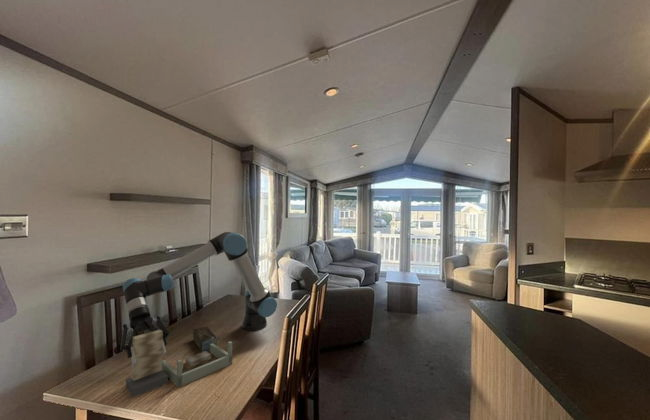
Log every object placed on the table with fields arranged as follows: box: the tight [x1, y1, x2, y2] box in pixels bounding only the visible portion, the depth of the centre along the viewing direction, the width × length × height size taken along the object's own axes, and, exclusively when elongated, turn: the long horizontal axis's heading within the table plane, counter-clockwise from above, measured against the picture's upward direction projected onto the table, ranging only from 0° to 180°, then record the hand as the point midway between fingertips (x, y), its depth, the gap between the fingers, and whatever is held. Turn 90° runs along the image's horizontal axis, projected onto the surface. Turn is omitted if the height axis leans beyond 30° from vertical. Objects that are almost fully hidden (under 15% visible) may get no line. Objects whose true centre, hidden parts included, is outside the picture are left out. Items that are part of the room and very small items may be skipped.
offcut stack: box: [182, 351, 212, 373], centre depth 125 cm, size 11×6×6 cm, turn 139°
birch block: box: [130, 329, 163, 380], centre depth 114 cm, size 10×3×16 cm, turn 139°
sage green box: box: [162, 341, 233, 388], centre depth 128 cm, size 24×18×10 cm
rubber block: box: [125, 370, 169, 398], centre depth 114 cm, size 12×10×3 cm
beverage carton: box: [192, 325, 218, 353], centre depth 151 cm, size 8×19×7 cm, turn 37°
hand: (150, 359), depth 112 cm, fingers closed on birch block, 10 cm apart
